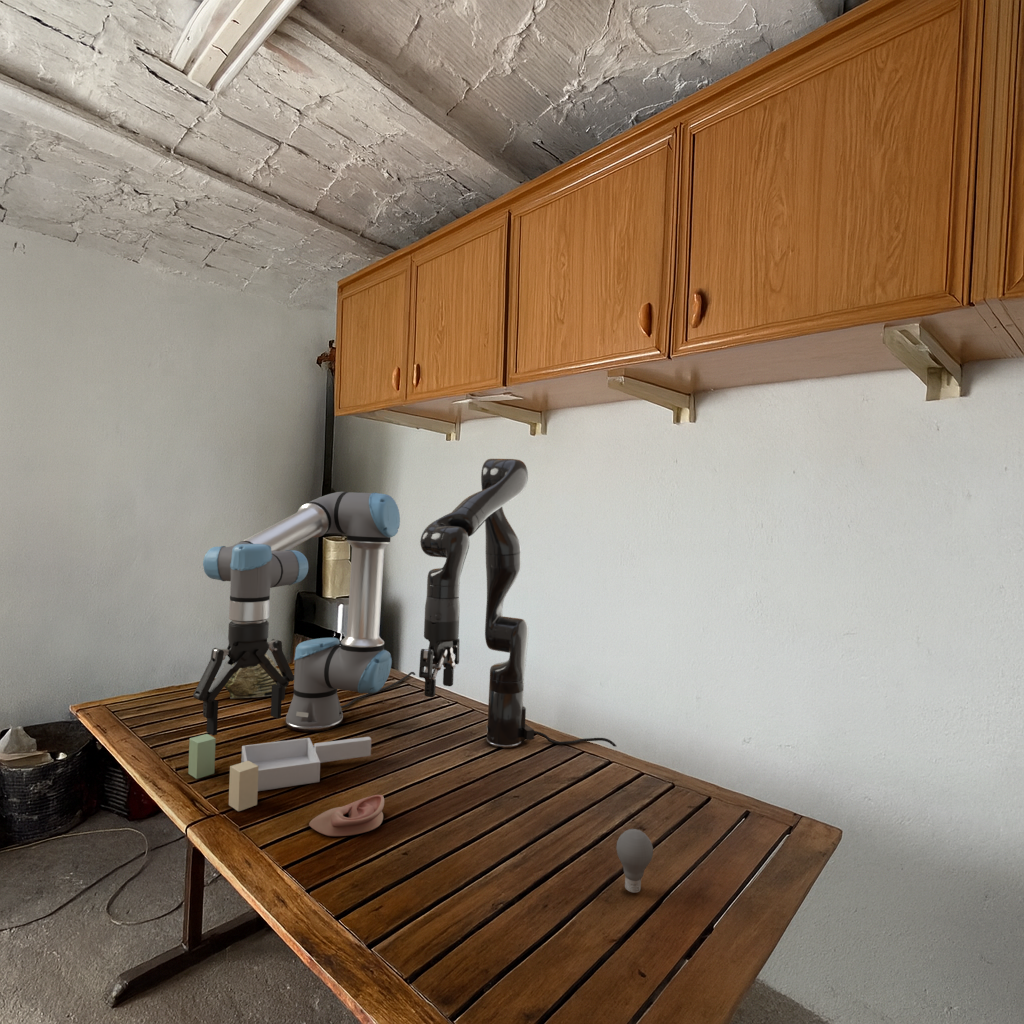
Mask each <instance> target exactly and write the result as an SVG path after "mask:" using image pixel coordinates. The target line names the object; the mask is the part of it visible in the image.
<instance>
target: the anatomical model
mask: <svg viewBox="0 0 1024 1024" xmlns="http://www.w3.org/2000/svg"><path fill="white" fill-rule="evenodd" d="M384 806H385V798H384V795H382V794H374V795H369V796H367V797H363V798H361V799H358V800H355V801H353V802H350V803H348V804H345V805H343V806H338V807H333V808H330V809H328V810H325V811H324V812H322V813H320V814H318V815H317V816H315V817H314V818H312V819H311V820H310V821H309V823H308V825H309V827H310V828H311V829H312V830H314V831H315V832H317V833H319V834H322V835H324V836H327V837H346V836H355V835H359V834H364V833H367V832H370V831H373V830H375V829H377V828H378V827H380V826H381V824H382V823H383V820H384V813H383V810H384Z"/></svg>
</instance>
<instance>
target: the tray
mask: <svg viewBox="0 0 1024 1024" xmlns="http://www.w3.org/2000/svg"><path fill="white" fill-rule="evenodd" d="M371 756H372V738H371V736H364V737H355V738H347V739H339V740H331V741H323V742H316V743H313V742H312V740H311V737H305V738H296V739H295V738H294V739H287V740H278V741H271V742H270V741H269V742H262V743H255V744H247V745H245V744H244V745H242V746H241V762H240V763H242V762H245V761H250V762H252V763H254V764H256V765H257V766H259V767H258V792H261V791H268V790H275V789H282V788H283V789H284V788H288V787H289V788H290V787H295V786H302V785H308V784H315V783H320V780H321V778H320V777H321V763H328V762H336V761H342V760H350V759H356V758H364V757H371Z"/></svg>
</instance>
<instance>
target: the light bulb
mask: <svg viewBox="0 0 1024 1024" xmlns="http://www.w3.org/2000/svg"><path fill="white" fill-rule="evenodd" d="M615 849H616V854H617V857H618V859H619V861H620V863H621V865H622V867H623V873H624V874H623V875H624V876H625V878H624V888H625V890H627V891H628V892H630V893H634V894H635V893H639V892H640V891H641V889H642V887H641V886H642V879H643V877H644V875H645V871H646V868H647V867H648V866H649V864H650V863H651V861H652V859H653V855H654V847H653V843H652V841H651V838H649V836H648V835H647V834H646V833H645V832H643V831H642V830H641V829H636V828H629V829H627V830H625V831H623V832H622V833H621V834H620V835H619V837H618V839H617V841H616V847H615Z"/></svg>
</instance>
